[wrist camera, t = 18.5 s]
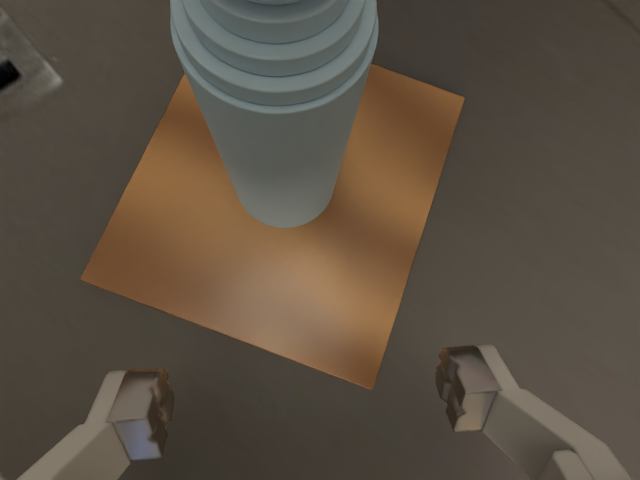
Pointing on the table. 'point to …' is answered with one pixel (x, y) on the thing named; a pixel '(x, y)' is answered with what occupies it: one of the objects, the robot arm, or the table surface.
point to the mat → (284, 233)
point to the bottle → (278, 93)
